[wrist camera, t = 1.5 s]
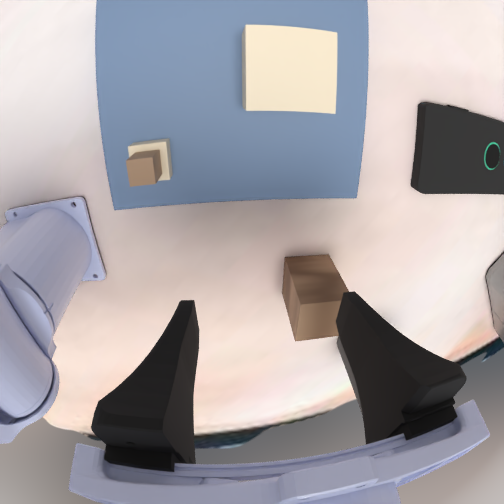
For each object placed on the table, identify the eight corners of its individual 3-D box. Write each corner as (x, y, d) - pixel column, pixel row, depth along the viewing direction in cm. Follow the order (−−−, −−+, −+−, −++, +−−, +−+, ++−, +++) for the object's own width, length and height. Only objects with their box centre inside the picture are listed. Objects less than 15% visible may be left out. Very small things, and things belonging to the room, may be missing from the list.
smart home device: (526, 196, 22) (417, 196, 21) (517, 190, 24) (406, 188, 23) (537, 134, 18) (426, 100, 17) (527, 129, 19) (414, 98, 18)
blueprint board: (120, 202, 21) (99, 231, 17) (104, 2, 12) (76, -13, 8) (349, 191, 22) (375, 216, 18) (358, -2, 13) (389, -17, 9)
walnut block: (282, 292, 27) (295, 341, 22) (284, 257, 25) (300, 304, 20) (322, 289, 27) (342, 335, 22) (328, 254, 25) (352, 299, 20)
